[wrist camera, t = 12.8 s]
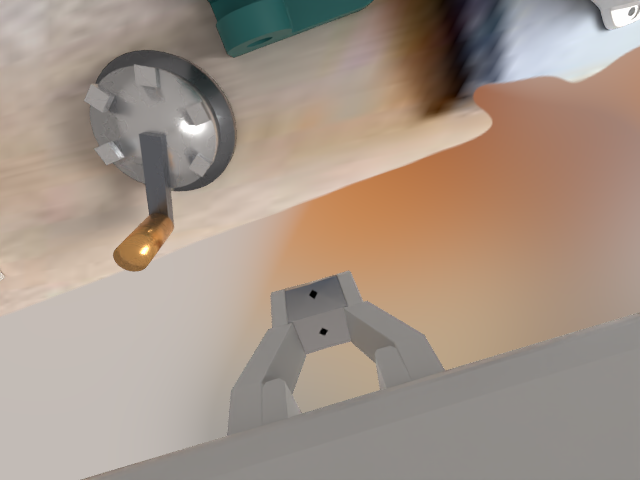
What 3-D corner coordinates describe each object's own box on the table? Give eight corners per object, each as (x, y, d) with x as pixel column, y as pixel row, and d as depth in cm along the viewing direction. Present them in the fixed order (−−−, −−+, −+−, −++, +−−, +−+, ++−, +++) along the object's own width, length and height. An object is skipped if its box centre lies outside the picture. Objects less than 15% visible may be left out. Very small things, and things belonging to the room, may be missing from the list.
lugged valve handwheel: (95, 56, 28) (-10, 41, 18) (220, 79, 30) (190, 77, 20) (123, 215, 36) (62, 267, 26) (220, 224, 38) (199, 275, 28)
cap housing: (210, 39, 30) (205, 36, 28) (251, 173, 38) (250, 178, 36) (72, 67, 30) (58, 66, 28) (141, 196, 38) (134, 202, 36)
